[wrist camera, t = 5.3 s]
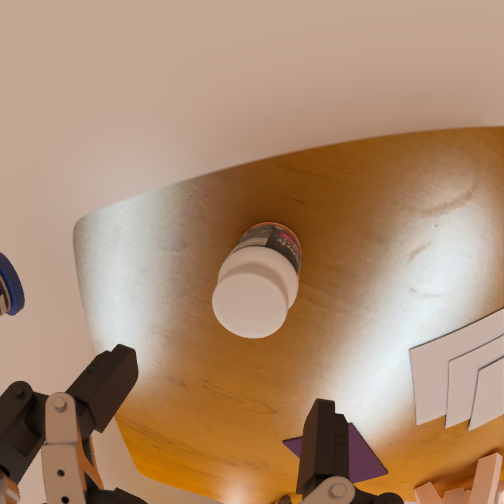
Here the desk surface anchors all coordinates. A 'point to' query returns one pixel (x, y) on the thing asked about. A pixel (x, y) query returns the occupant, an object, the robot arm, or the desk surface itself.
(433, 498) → the pile of blocks
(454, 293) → the desk surface
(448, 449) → the desk surface
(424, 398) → the paper stack
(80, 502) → the robot arm
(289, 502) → the sunglasses
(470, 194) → the desk surface
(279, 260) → the pill bottle
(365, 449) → the cloth
